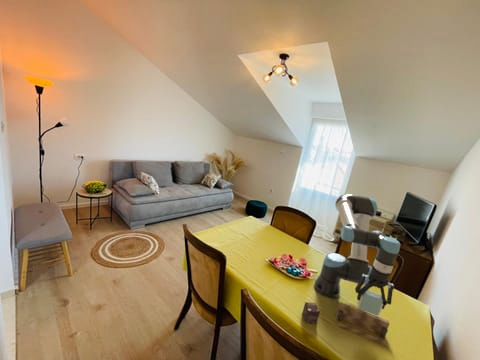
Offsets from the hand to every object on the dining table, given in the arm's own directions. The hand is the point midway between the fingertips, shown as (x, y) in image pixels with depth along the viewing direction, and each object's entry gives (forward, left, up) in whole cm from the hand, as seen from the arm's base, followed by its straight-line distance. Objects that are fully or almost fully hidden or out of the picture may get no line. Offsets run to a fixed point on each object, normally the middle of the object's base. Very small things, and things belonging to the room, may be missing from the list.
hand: (367, 309), depth 113 cm
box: (-25, -6, -14) cm, 29 cm away
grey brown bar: (0, +1, -13) cm, 13 cm away
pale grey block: (0, 0, 0) cm, 0 cm away
